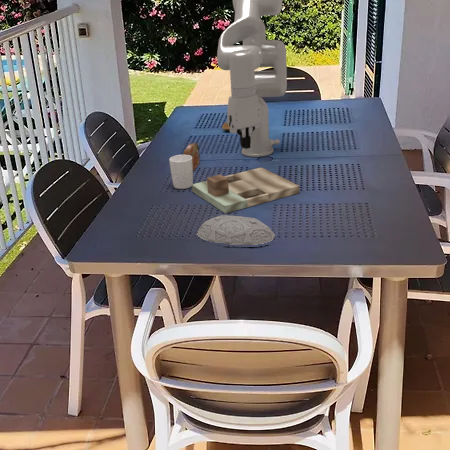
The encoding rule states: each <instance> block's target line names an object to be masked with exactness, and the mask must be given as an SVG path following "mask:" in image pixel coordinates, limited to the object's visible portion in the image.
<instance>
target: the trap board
mask: <svg viewBox="0 0 450 450" xmlns="http://www.w3.org/2000/svg"><path fill="white" fill-rule="evenodd" d="M223 176H224V177H226V178H228V186H229V193H228V194H224V195H221V196H217V197H215V196H213V195H211V194H210V193H208V187H207V180H205V181H200V182H196V183H193V184H192V186H191V192H193V193H194V194H195V195H197V196H198V197H200V198H201V199H203V200H205V202H207V203H209V204H210V203H211V204H210V205H212V206H214V207H215V208H216V209H218V210H219V211H221V212H222V213H223V214H228V213H232V212H236V211H239V210H242V209H243V210H244V209H245V208H250V207H253V206H257V205H261V204H265V203H268V202H272V201H275V200H279V199H283V198H286V197H291V196H293V195H297V194H299V193H300V185H299V184H296V183H295V182H293V181H290V180H288V179H286V178H284V177H282V176H280V175H278V174H276V173H274V172H272V171H270V170H268V169H266V168H264V167H257V168H253V169H249V170H245V171H241V172H237V173H232V174H229V175H223Z"/></svg>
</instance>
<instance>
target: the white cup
mask: <svg viewBox="0 0 450 450" xmlns="http://www.w3.org/2000/svg"><path fill="white" fill-rule="evenodd" d="M168 162H169V168H170V173H171V180H172V185H173V188H175V189H178V190H184V189H189V188H192V184H194V181H193V178H194V177H193V176H194V173H193V172H194V171H193V166H192V156H190V155H183V154H177V155H173V156H171V157H170V158H169V159H168Z"/></svg>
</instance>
